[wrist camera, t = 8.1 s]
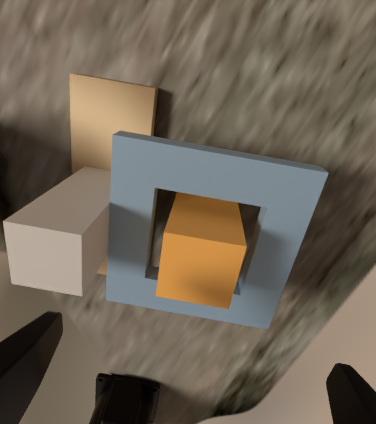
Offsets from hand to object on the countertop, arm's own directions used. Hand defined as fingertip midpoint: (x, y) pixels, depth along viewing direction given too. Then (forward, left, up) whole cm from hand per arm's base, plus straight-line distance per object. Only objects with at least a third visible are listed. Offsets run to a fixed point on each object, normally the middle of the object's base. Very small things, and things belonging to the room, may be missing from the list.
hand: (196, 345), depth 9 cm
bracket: (0, +2, -11) cm, 11 cm away
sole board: (0, +7, -12) cm, 14 cm away
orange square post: (0, 0, -12) cm, 12 cm away
